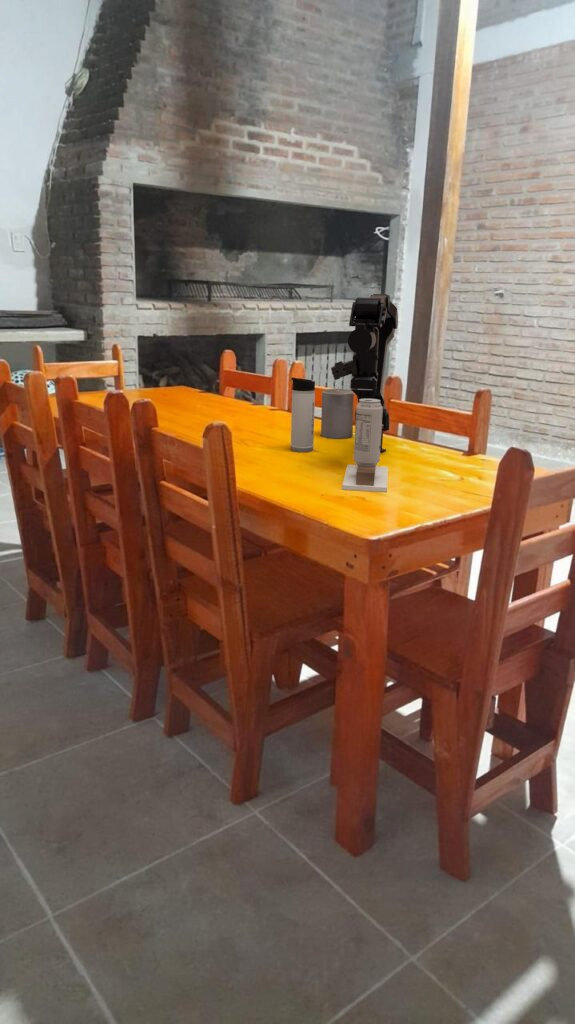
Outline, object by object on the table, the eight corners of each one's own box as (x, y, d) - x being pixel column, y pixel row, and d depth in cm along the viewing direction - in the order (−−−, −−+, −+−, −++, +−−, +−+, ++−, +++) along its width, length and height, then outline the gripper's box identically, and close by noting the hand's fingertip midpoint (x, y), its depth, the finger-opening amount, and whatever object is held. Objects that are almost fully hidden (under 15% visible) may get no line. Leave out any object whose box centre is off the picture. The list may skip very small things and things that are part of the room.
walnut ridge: (359, 466, 179) (360, 454, 178) (375, 467, 178) (376, 455, 177) (355, 484, 162) (356, 471, 161) (373, 485, 161) (374, 472, 160)
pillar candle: (334, 431, 227) (336, 383, 222) (359, 436, 220) (360, 387, 216) (314, 436, 220) (315, 386, 216) (338, 440, 214) (339, 390, 209)
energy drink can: (384, 465, 167) (388, 401, 162) (362, 468, 164) (366, 402, 160) (369, 460, 172) (373, 397, 167) (348, 462, 169) (351, 398, 165)
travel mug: (286, 448, 202) (287, 376, 196) (307, 447, 204) (309, 375, 198) (295, 453, 196) (296, 379, 190) (316, 451, 199) (319, 378, 193)
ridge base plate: (347, 468, 180) (347, 464, 180) (387, 470, 179) (387, 466, 179) (342, 489, 161) (342, 485, 161) (386, 492, 160) (387, 487, 160)
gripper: (336, 346, 187) (334, 406, 192) (330, 352, 170) (328, 418, 174) (379, 348, 186) (376, 408, 191) (378, 354, 168) (374, 420, 173)
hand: (363, 413), depth 182 cm, fingers open, 9 cm apart
